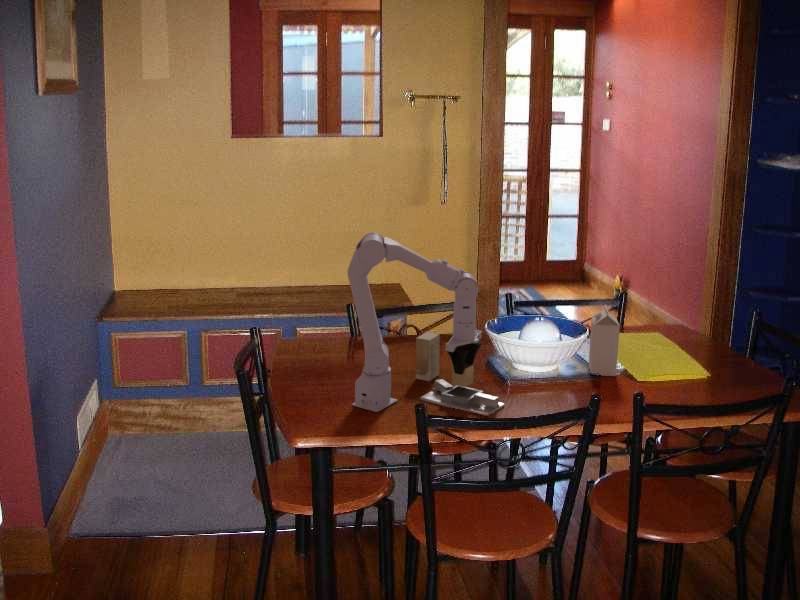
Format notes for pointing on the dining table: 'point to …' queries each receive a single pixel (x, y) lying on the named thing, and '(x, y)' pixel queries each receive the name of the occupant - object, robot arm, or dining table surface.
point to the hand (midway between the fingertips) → (463, 371)
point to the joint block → (463, 376)
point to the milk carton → (604, 343)
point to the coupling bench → (462, 398)
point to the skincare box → (427, 356)
